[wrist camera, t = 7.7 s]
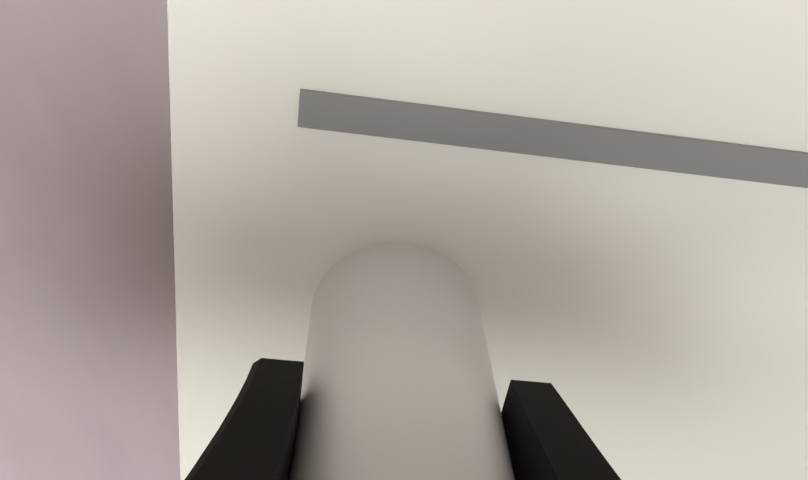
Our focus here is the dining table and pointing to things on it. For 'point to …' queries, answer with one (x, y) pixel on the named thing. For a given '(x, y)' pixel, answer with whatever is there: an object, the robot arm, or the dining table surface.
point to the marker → (398, 374)
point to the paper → (513, 202)
